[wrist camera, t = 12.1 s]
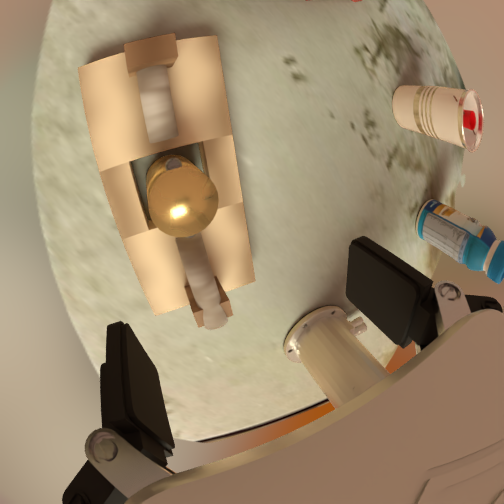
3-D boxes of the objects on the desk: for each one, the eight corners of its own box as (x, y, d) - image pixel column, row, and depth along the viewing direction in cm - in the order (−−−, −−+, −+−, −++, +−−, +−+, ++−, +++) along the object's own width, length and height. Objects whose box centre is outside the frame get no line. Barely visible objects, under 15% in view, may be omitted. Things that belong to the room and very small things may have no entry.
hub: (189, 141, 24) (209, 150, 17) (202, 202, 27) (225, 233, 20) (138, 156, 22) (137, 171, 16) (155, 217, 26) (162, 254, 19)
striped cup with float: (378, 112, 30) (455, 127, 20) (394, 66, 27) (466, 71, 17) (413, 144, 35) (476, 165, 25) (426, 103, 32) (488, 116, 22)
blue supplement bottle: (409, 223, 42) (497, 279, 26) (430, 188, 41) (518, 234, 25) (420, 244, 47) (495, 295, 31) (439, 212, 46) (514, 256, 30)
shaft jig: (209, 42, 19) (238, 15, 13) (247, 271, 33) (276, 311, 27) (83, 72, 16) (60, 54, 10) (154, 303, 30) (162, 353, 24)
